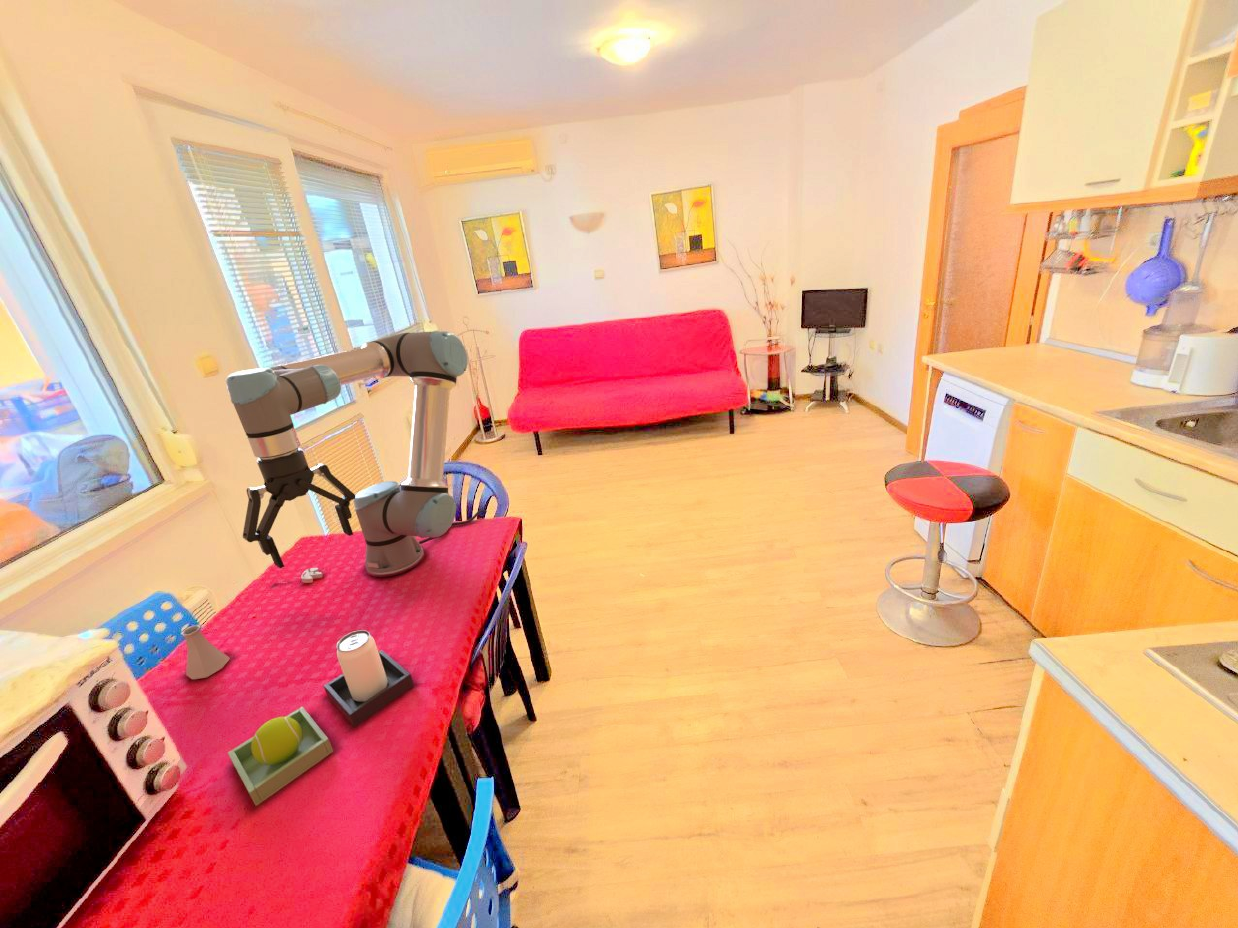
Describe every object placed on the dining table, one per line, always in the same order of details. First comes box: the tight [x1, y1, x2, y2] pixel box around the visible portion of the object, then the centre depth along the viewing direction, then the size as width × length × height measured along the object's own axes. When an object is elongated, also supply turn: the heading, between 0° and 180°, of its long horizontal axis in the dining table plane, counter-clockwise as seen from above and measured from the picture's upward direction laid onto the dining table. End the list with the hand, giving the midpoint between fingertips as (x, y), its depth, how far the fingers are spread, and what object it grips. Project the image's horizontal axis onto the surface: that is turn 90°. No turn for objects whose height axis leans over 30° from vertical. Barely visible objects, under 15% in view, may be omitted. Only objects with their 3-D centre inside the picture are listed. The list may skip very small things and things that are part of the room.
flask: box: [180, 624, 231, 680], centre depth 106 cm, size 7×7×10 cm
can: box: [336, 629, 388, 702], centre depth 95 cm, size 6×6×12 cm
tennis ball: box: [251, 716, 302, 765], centre depth 84 cm, size 7×7×7 cm
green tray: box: [227, 706, 334, 807], centre depth 84 cm, size 12×12×3 cm
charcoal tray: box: [323, 649, 415, 728], centre depth 97 cm, size 12×12×3 cm
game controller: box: [277, 567, 323, 584], centre depth 136 cm, size 6×12×3 cm, turn 121°
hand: (315, 548), depth 103 cm, fingers open, 13 cm apart
